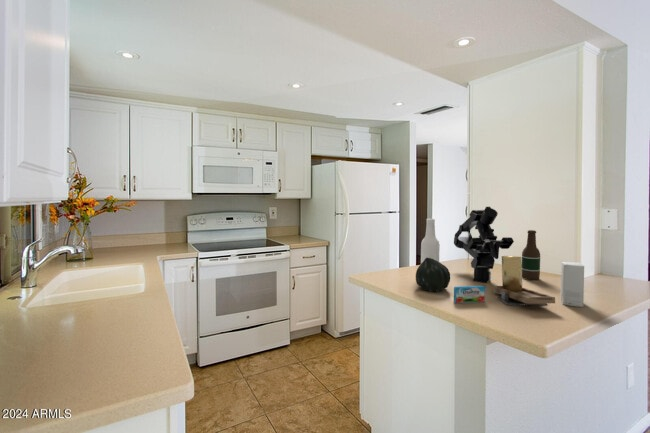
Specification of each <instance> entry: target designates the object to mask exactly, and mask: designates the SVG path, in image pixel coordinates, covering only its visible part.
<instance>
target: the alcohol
mask: <svg viewBox="0 0 650 433" xmlns="http://www.w3.org/2000/svg"><path fill="white" fill-rule="evenodd" d="M425 222H426V227H425V236H424V237H423V239H422V240H421V244H420V265H421V264H422V262H423V261H424V260H425V259H426V258H432V259H434V260H436V261H438V262H440V249H441V248H440V247H441V246H440V241H439V240H438V238H437V237H436V225H435V218H426V221H425Z"/></svg>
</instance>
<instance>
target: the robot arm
mask: <svg viewBox="0 0 650 433" xmlns="http://www.w3.org/2000/svg"><path fill="white" fill-rule="evenodd" d="M498 214H499V213H498V211H497V210H496V209H494V208H491V206H485V208H484V209H473V210H471V212H469V218H467V219H466V220H465V221H464V222H463V223H462V224H459V227H458V230H457V231H456V232H455V234H454V238H453V244H454V246H455V247H456V248H458V249H463V250H464V251H465V252H466V253H468V254H469V255H470V256H471V257H472V260H471V262H470V267H471V268H472V269H473V279H472V281H474V282H481V283H489V282H490V281H491V278H492V277H491V274H492V272H491V271H490V269H491V270H493V269H494V265H495V260H498V259H499V256H500V255H499V254H500V249H501V250H507V249H510V248H511V246H512V245H513V244H514V242H515V241H514V239H513V237H505V236H503V237H502V238H501V239H498V235H495V233H494V232H495V230H494V228H492V227H491V225H492V224H494V222H495V219H496V218H497V216H498ZM473 228H474V230H477V231H478V234H479V236H478V237H473V236H472V233H471V230H472V229H473ZM463 233H468V235H467V236H461V235H462V234H463Z"/></svg>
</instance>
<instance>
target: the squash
mask: <svg viewBox="0 0 650 433" xmlns="http://www.w3.org/2000/svg"><path fill="white" fill-rule="evenodd" d="M450 281H451V273H450V270H449V269H448V267H447V266H446V265H444V264H443V263H442V262H440V261H439V262H438V261H436V260H434V259H432V258H426V259H425V260H424V261H423V262H422V264H421V263H420V265H418V267H417V269H416V272H415V282H416V284H417V286H418V287H420V289H422V290H425V291H429V292H434V291H435V292H437V293H439V292H441V291H442V290H444V289H447V288H448V287H449V284H450V283H451V282H450Z"/></svg>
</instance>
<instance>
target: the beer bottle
mask: <svg viewBox="0 0 650 433" xmlns="http://www.w3.org/2000/svg"><path fill="white" fill-rule="evenodd" d="M536 234H537V230H535V229H534V230H533V229H529V230H527V240H526V245H525V247H524V248H523V249H522V252H521V263H522V279H523V280H529V281H538V280H540V277H541V276H540V275H541V253H540V250H539V248H538V247H537V236H536Z"/></svg>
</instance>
